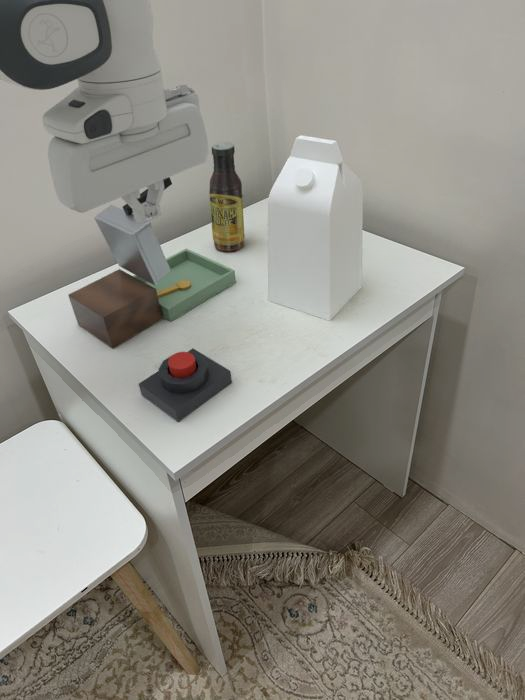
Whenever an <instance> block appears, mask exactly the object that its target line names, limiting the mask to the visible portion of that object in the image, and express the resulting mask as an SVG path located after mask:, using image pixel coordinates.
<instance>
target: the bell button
mask: <svg viewBox="0 0 525 700" xmlns="http://www.w3.org/2000/svg"><path fill="white" fill-rule="evenodd" d="M170 356H171V357H170ZM170 356H169V357H170V358H169V360H168V365H169V369H170V373H171V375H172V376H173V377H175V378H184V377H188V376H191V375H192V374H194V373H195V371H196V363H195V358H194V356H193V354H191V353H189V352H188V351H178V352H175V353H173V354H171V355H170Z"/></svg>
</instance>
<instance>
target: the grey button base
mask: <svg viewBox="0 0 525 700" xmlns="http://www.w3.org/2000/svg"><path fill="white" fill-rule="evenodd" d="M187 352H189V353H191V354H193V356H194V358H195V363H196V371H195V373H194V374H192V375H191V376H188V377H184V378H175V377H173V376H172V375H171V373H170V369H169V365H168V360H169V358H170V357H171V356H172V355H170V356H169V357H166V358H165V359H164V360H162V362H161V364H160V366H159V368H158V369H157V371H155V372H154V373H153V374H151V375H149V376H148V377H147V378H145V379H143V380H142V381H140V382H139V383H138V387H139V392H140V394H141V396H142V397H143V398H145V399H146V400H147V401H149V402H150V403H151V404H153V405H154V406H155V407H157V408H158V409H160V410H161V411H162V412H164V413H165V414H166V415H168V416H169V417H171V418H172V419H174V421H176V422H177V423H179V422H181V421H182V420H183V419H184V418H186V417H187V416H188V415H190V414H191V413H193V412H194V411H195V410H197V409H198V408H199V407H201V406H202V405H204V404H205V403H206V402H207V401H209V400H211V398H213V397H214V396H216V395H217V394H218V393H220V392H221V391H223V390H224V389H225V388H227V387H228V386H229V385H230V384H232V383H233V380H232V372H231V370H229V368H227V367H225V366H224V365H221V364H220V363H218V362H216V361H215V360H214V359H212V358H210V357H208V356H207V355H205V354H203V353H202V352H201V351H198V350H197V349H195V348H191V349H190V350H188V351H187Z"/></svg>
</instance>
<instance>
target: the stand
mask: <svg viewBox="0 0 525 700" xmlns="http://www.w3.org/2000/svg"><path fill="white" fill-rule="evenodd" d="M133 276H134V275H131V274H130V273H127V272H126V271H124V270H123V269H121V268H119V269H117V270H114V271H113V272H111V273H109V274H106V275H105V276H103V277H101V278H99V279H97V280H95V281H93V282H90V283H89V284H87V285H85V286H82V287H81V288H78V289H77V290H74V291H72V292H71V293H69V294H67V296H68V298H69V302H70V305H71V307H72V311H73V313H74V316H75V319H76V322H77V325H78V326H79V327H81V328H82V329H83V330H85V331H87V332H88V333H90V334H91V335H93V336H94V337H95V338H97V339H98V340H100V341H101V342H103V343H104V344H105V345H107V346H108V347H110V348H111V349H115V348H116V347H118V346H120V345H121V344H123V343H125V342H126V341H129V340H130V339H132V338H133V337H135V336H136V335H138V334H140V333H142V332H143V331H145V330H147V329H148V328H150V327H152V326H154V325H155V324H157V323H158V322H160V321H162V320H163V317H162V314H161V309H160V305H159V300H158V295H157V291H156V289H155V288H154V287H152V286H150V285H148V284H146V283H144V282H143V281H141V280H139V279H137V278H135V277H133Z"/></svg>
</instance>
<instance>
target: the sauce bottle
mask: <svg viewBox="0 0 525 700" xmlns="http://www.w3.org/2000/svg"><path fill="white" fill-rule="evenodd" d="M235 149H236V148H235V145H234V143H233V142H229V141H218V142H215V143H213V144H212V145H211V155H212V160H213V172H212V174H211V177H210V179H209V193H208V196H209V197H208V198H209V209H210V210H209V211H210V219H211V233H212V241H213V244H214V248H215V249H217V250H219V251H220V252H235V251H238V250H240V249H241V248H243V246H244V243H245V221H244V200H243V199H244V198H243V197H244V196H243V189H242V187H243V185H242V184H243V183H242V180H241V178H240V177H239V174H237V172H236V165H235V152H236V151H235Z"/></svg>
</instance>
